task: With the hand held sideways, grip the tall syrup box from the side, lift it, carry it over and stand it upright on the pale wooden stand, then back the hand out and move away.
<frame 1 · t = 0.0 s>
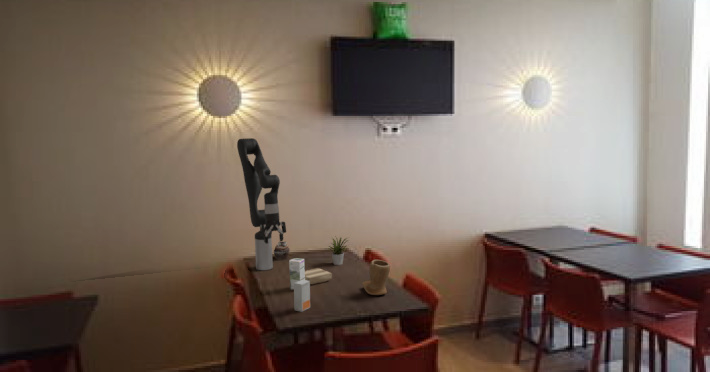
hand: (274, 242, 263), 17 cm above the table, tool pointing down, fingers open, 8 cm apart
skincare box: (302, 309, 210), on the table
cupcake: (281, 258, 297), on the table
house plant: (340, 264, 281), on the table
syrup box: (297, 288, 238), on the table
wood stand: (314, 280, 250), on the table
stone cup: (377, 292, 231), on the table
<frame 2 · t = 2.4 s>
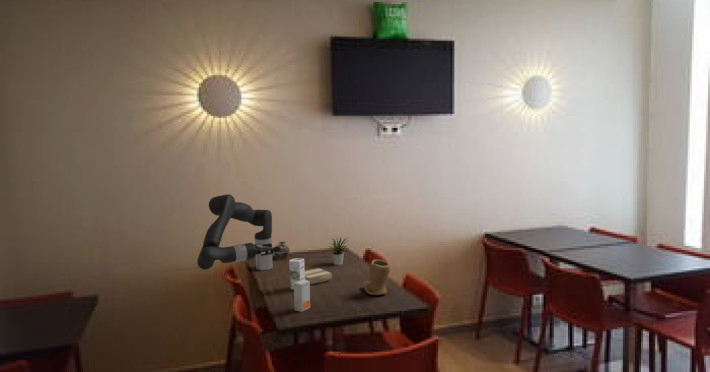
hand: (275, 247, 229), 22 cm above the table, tool horizontal, fingers open, 8 cm apart
nothing on the table moved.
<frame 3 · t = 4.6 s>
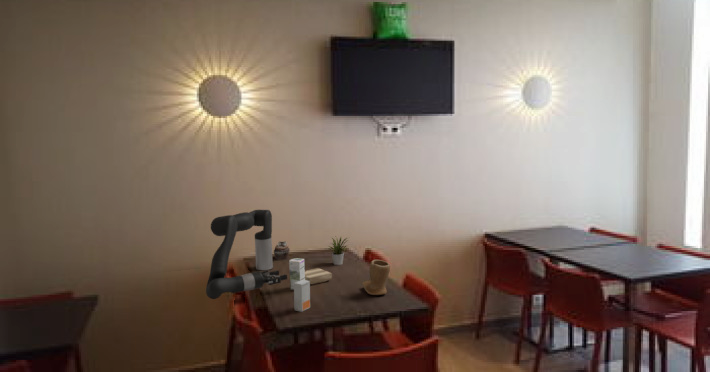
hand: (282, 274, 233), 8 cm above the table, tool horizontal, fingers open, 8 cm apart
nothing on the table moved.
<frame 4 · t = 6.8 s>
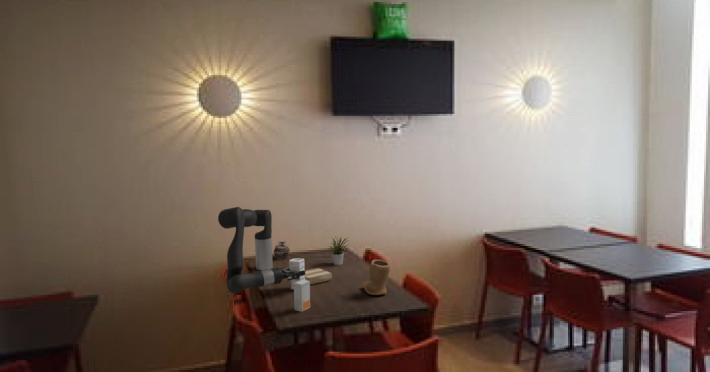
hand: (300, 270, 238), 9 cm above the table, tool horizontal, fingers closed on syrup box, 8 cm apart
syrup box: (297, 288, 238), on the table, touching gripper
everything else where it was.
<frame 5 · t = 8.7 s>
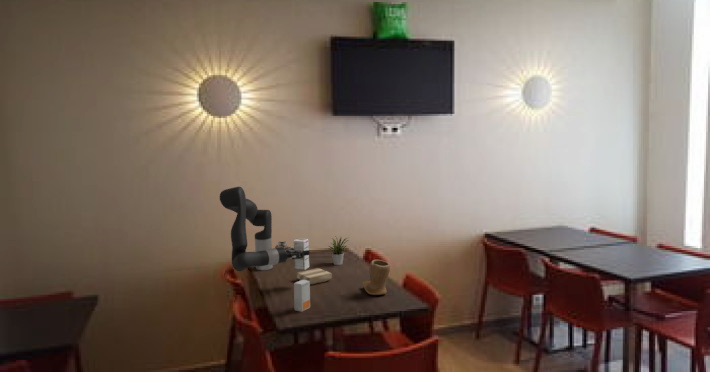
hand: (304, 250, 241), 17 cm above the table, tool horizontal, fingers closed on syrup box, 8 cm apart
syrup box: (301, 268, 241), point 9 cm above the table, touching gripper
everything else where it was.
when the fingers open (14 cm above the table, at t = 11.1 s): syrup box drops 1 cm, resting on wood stand.
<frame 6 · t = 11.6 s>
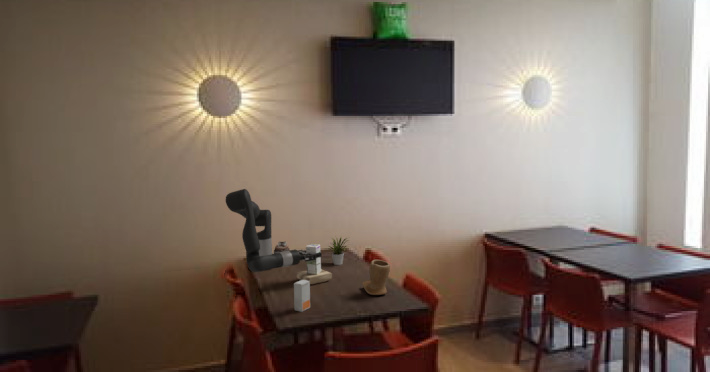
hand: (316, 253, 250), 14 cm above the table, tool horizontal, fingers open, 8 cm apart
syrup box: (314, 273, 250), point 4 cm above the table, touching gripper, wood stand
everything else where it was.
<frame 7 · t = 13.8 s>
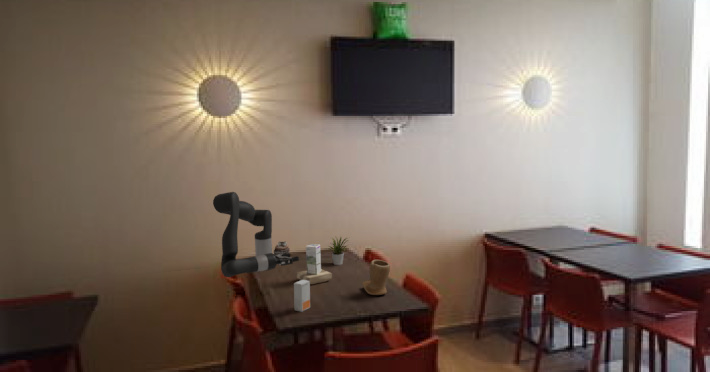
hand: (294, 256, 243), 14 cm above the table, tool horizontal, fingers open, 8 cm apart
syrup box: (314, 273, 250), point 4 cm above the table, touching wood stand
everything else where it was.
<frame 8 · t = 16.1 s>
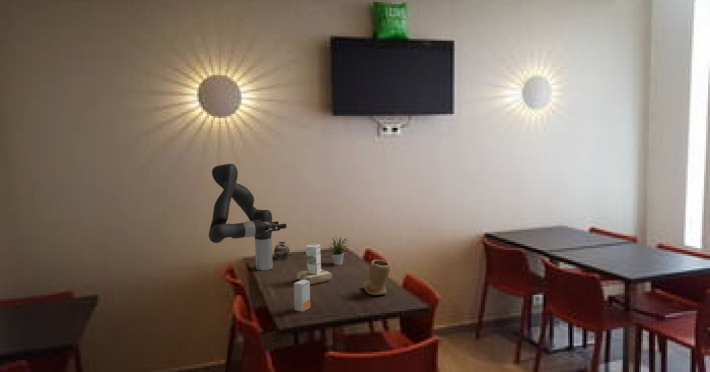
hand: (282, 224, 244), 30 cm above the table, tool horizontal, fingers open, 8 cm apart
nothing on the table moved.
at the end: syrup box inside the target area on the wood stand (0.1 cm from its centre), point 3.8 cm above the wood stand's base; syrup box tilted 0°; the gripper is holding nothing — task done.
